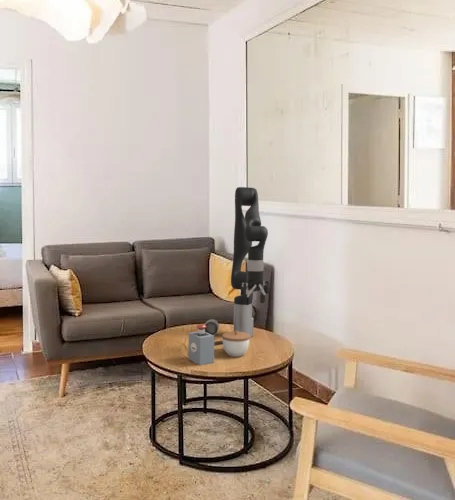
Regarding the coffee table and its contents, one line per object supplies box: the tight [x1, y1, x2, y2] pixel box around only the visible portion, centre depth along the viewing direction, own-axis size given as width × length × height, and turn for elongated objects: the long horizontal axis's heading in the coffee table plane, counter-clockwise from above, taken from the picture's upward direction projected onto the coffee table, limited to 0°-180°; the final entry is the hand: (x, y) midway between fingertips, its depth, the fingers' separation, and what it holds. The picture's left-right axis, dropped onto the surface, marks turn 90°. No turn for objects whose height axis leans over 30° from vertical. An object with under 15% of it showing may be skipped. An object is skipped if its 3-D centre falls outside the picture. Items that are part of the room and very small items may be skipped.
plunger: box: [196, 323, 206, 337], centre depth 258 cm, size 4×4×6 cm
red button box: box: [188, 330, 215, 366], centre depth 259 cm, size 8×10×12 cm
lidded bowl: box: [221, 330, 251, 358], centre depth 269 cm, size 13×13×11 cm
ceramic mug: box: [204, 318, 220, 336], centre depth 303 cm, size 11×8×8 cm
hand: (254, 303), depth 273 cm, fingers open, 8 cm apart
